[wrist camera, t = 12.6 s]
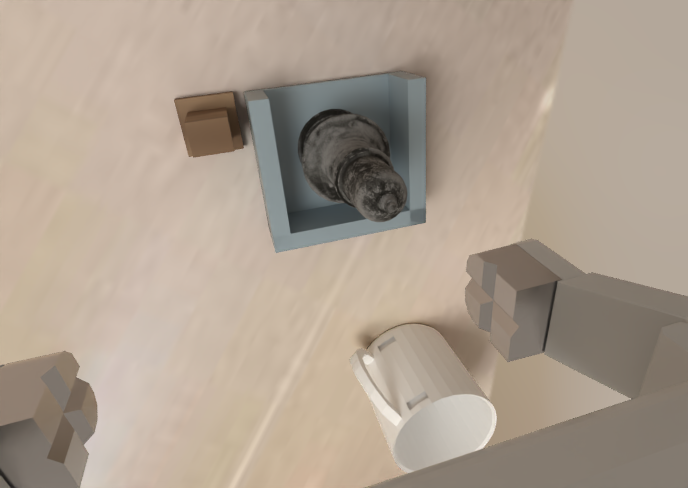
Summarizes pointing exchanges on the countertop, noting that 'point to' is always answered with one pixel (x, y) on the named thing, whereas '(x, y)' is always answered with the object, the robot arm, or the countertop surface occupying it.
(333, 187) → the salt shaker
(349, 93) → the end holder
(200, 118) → the pair of brown posts
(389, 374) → the mug
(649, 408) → the robot arm
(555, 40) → the countertop surface
